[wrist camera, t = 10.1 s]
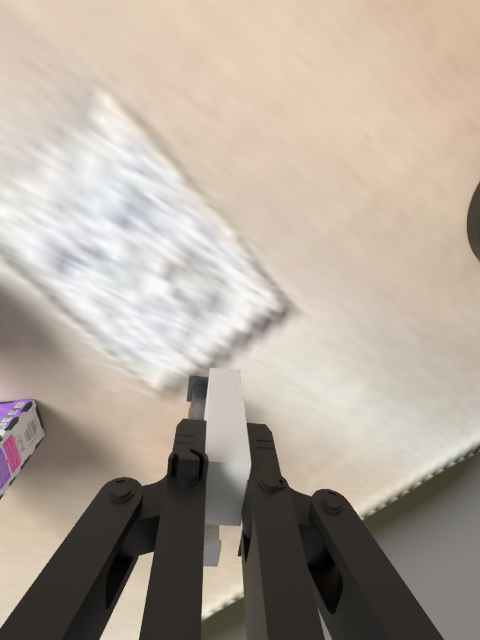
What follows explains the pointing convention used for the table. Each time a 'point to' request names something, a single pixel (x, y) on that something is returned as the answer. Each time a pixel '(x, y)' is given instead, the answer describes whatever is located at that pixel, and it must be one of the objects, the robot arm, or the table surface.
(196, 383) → the hinge post
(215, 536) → the stile
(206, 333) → the table surface
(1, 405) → the candy box
